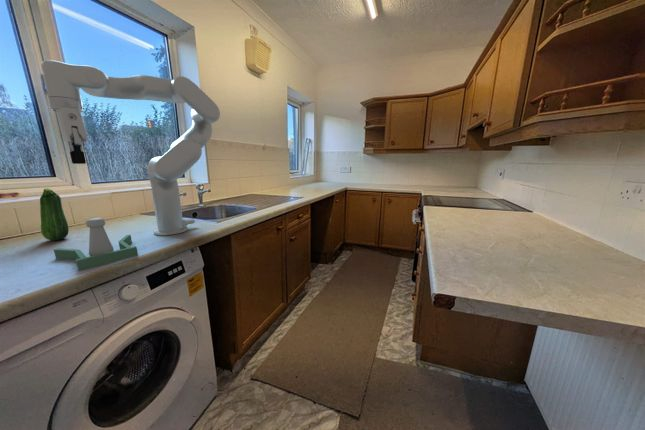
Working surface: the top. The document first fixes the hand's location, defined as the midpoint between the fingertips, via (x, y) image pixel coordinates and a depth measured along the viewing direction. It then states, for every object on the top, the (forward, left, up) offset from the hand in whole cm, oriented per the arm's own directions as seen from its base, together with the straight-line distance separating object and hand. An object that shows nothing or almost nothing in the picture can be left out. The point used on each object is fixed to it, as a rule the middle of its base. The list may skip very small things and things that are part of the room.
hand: (79, 163), depth 84 cm
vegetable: (+8, -19, -29) cm, 36 cm away
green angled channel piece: (+1, +15, -29) cm, 33 cm away
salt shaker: (+2, +18, -29) cm, 35 cm away
